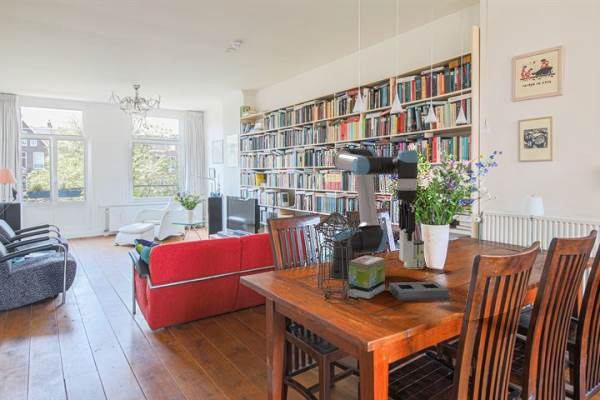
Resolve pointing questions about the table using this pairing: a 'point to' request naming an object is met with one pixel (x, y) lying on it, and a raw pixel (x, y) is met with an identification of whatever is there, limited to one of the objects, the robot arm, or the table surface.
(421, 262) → the coffee can
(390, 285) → the block
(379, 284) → the tea box
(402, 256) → the plug
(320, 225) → the geometric lantern
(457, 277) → the table surface
